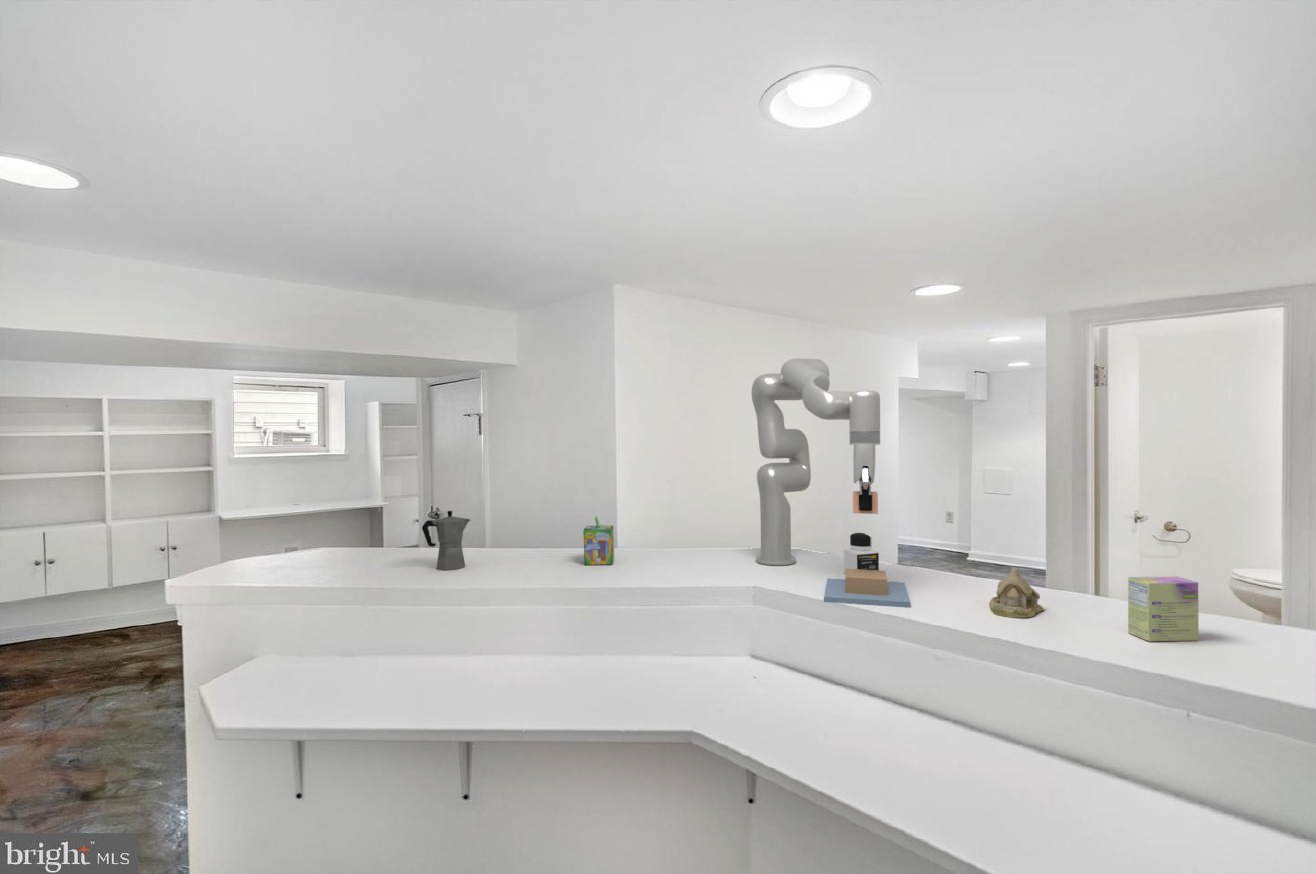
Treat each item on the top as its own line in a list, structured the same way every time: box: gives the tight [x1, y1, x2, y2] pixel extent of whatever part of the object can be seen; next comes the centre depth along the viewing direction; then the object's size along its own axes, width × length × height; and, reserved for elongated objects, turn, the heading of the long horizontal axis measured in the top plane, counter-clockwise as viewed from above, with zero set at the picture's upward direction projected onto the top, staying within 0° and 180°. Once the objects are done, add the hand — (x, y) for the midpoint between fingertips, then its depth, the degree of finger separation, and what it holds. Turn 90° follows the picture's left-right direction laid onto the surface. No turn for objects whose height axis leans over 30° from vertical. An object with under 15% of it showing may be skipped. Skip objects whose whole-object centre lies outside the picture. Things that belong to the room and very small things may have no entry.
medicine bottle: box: [843, 532, 880, 574], centre depth 189 cm, size 7×7×12 cm
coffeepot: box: [421, 510, 471, 571], centre depth 205 cm, size 15×9×18 cm, turn 129°
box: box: [1127, 576, 1200, 642], centre depth 132 cm, size 10×6×12 cm, turn 92°
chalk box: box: [582, 515, 615, 566], centre depth 210 cm, size 9×9×15 cm
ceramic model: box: [988, 567, 1044, 619], centre depth 152 cm, size 14×11×10 cm
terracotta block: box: [852, 490, 879, 515], centre depth 167 cm, size 6×6×5 cm
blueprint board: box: [823, 569, 911, 608], centre depth 167 cm, size 20×20×5 cm
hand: (865, 508), depth 167 cm, fingers closed on terracotta block, 6 cm apart
